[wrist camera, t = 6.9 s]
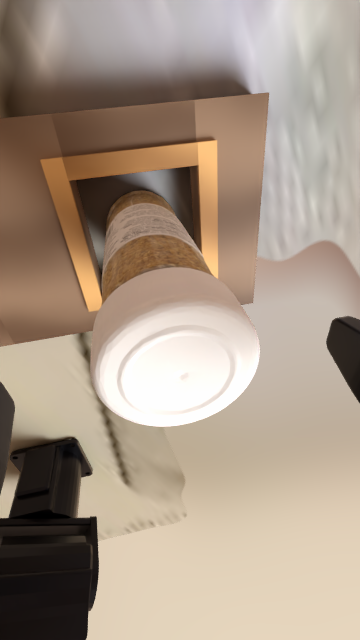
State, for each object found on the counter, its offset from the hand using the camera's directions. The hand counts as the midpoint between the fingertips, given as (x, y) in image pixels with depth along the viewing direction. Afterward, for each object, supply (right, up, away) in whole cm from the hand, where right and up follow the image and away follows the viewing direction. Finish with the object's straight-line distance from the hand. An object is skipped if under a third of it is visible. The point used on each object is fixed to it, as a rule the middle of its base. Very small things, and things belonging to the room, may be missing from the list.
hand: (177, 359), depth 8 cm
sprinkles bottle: (-2, +7, +11) cm, 13 cm away
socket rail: (-8, +6, +10) cm, 14 cm away
